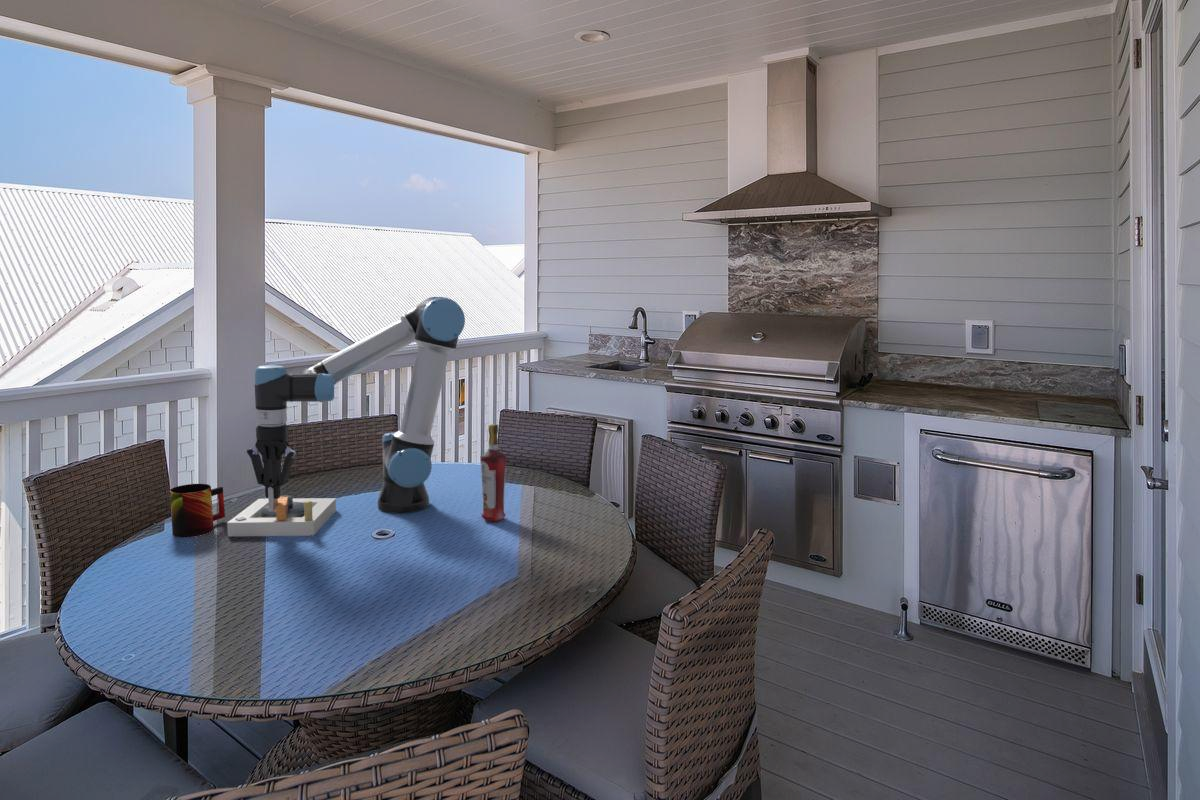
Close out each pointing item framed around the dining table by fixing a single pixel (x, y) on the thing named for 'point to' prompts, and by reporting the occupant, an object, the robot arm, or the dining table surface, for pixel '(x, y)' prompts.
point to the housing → (307, 525)
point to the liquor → (493, 479)
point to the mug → (194, 509)
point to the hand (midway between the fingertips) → (273, 509)
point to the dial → (284, 509)
